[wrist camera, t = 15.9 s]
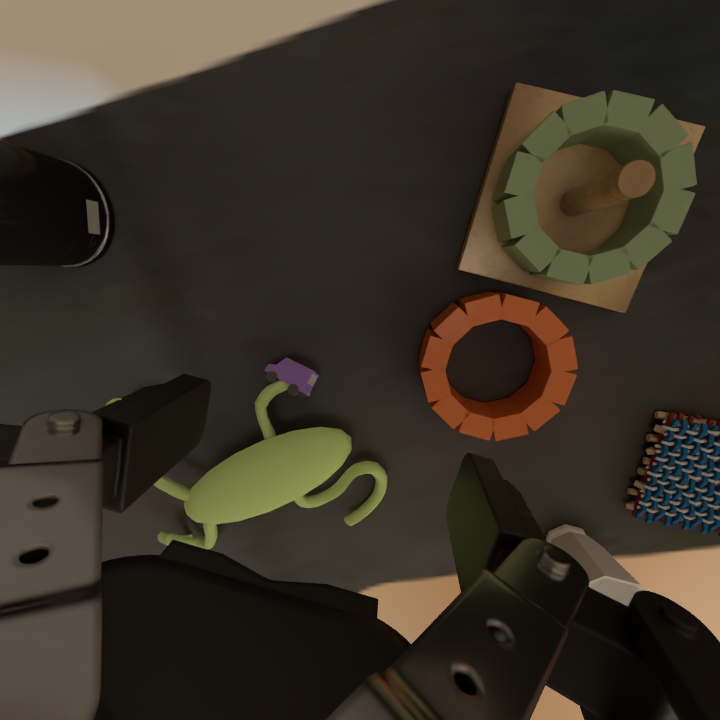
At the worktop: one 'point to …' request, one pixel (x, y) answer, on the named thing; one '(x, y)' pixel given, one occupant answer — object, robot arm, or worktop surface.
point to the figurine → (273, 468)
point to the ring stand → (560, 202)
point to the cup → (595, 563)
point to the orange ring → (529, 401)
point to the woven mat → (681, 474)
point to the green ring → (626, 143)
